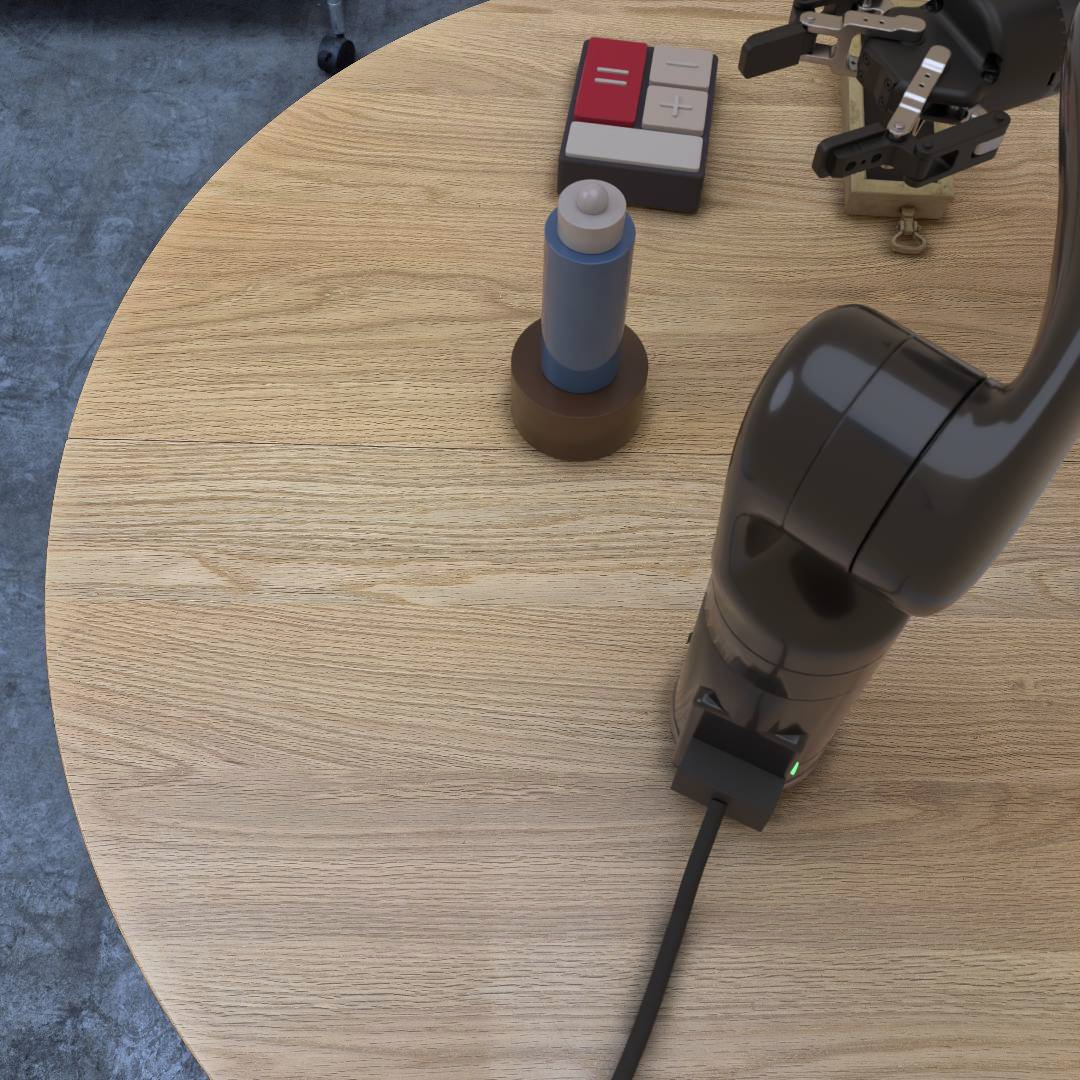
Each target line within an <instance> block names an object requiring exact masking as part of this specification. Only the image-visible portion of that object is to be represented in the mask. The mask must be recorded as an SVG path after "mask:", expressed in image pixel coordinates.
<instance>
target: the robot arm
mask: <svg viewBox="0 0 1080 1080" xmlns="http://www.w3.org/2000/svg"><path fill="white" fill-rule="evenodd" d="M927 1H928V2H927V3H925V4H924V5H922V6H918V7H904V6H897V7H895V5H894V4H893V3H892V2H891V0H793V1H792V5H791V9H790V14H789V19H788V23H787V24H782V25H780V26H777V27H776V26H775V27H772V28H769V29H766V30H762V31H759V32H756V33H752V34H751V35H750V36H748V37H747V38H746V41H745V42H743V43H742V45H741V49H740V52H739V53H740V54H739V59H738V63H737V70H738V72H740V74H741V75H742V76H743V77H744V79H747V80H749V79H753V78H756V77H760V76H763V75H767V74H770V73H773V72H777V71H780V70H783V69H787V68H789V67H794V66H796V65H799V64H800V62H805V63H812V64H817V65H822V66H823V65H824V66H828V67H829V69H830V71H831V73H832V74H834V75H837V76H841V75H843V76H848V77H854V78H856V79H857V80H858V81H859V82H860V84H861V85H862V86H863V87H864V88H865V89H867V90H868V91H869V92H871V93H872V94H873V95H874V98H875V100H876V103H877V105H878V106H879V107H880V108H881V110H882V111H883V112H884V113H885V112H888V111H889V112H891V113H893V114H894V115H893V116H892V118H891V120H890V121H889V123H888V126H887V127H886V128H883V127H882V125H881V124H880V123H879V122H877V123H873V124H870V125H867V126H864V127H861V128H857V129H854V130H851V131H848V132H845V133H842V132H841V133H838V134H836V135H832V136H828V137H825V138H823V139H822V140H821V141H820V142H819V143H818V144H817V146H816V148H815V152H814V155H813V159H812V163H811V169H812V171H813V173H815V175H816V176H817V177H818V178H819V179H825V178H829V177H831V179H842V178H843V177H846V176H849V175H851V174H852V175H853V174H856V173H857V172H858V173H859V172H862V171H865V170H868V169H871V168H874V167H877V166H880V167H882V168H885V169H893V168H896V169H897V170H899V171H900V172H902V173H903V174H904V177H903V181H904V183H905V184H906V185H908V186H910V187H913V188H919V187H922V186H925V185H927V184H930V183H932V182H935V181H938V180H940V179H943V178H945V177H948V176H950V175H953V176H954V175H955V174H958V173H961V172H963V171H965V170H968V169H971V168H973V167H975V166H978V165H981V164H983V163H985V162H988V161H991V160H993V159H994V158H995V157H996V155H997V153H998V151H999V148H1000V147H1001V146H1002V142H1003V140H1004V139H1005V137H1006V134H1007V131H1008V128H1009V126H1010V124H1011V121H1012V117H1011V116H1010V115H1009V113H1008V112H1006V111H1009V110H1013V109H1016V108H1018V107H1021V106H1024V105H1028V104H1031V103H1034V102H1038V101H1040V100H1043V99H1047V98H1050V97H1053V96H1056V95H1059V103H1058V142H1057V143H1058V145H1057V146H1058V148H1057V149H1058V152H1057V153H1058V161H1057V162H1058V173H1057V175H1058V176H1057V177H1058V194H1057V196H1058V197H1057V213H1056V214H1057V215H1056V226H1055V234H1054V243H1053V251H1052V259H1051V266H1050V274H1049V280H1048V284H1047V289H1046V290H1047V291H1046V297H1045V300H1044V301H1045V302H1044V305H1043V306H1044V307H1043V310H1042V314H1041V318H1040V322H1039V325H1038V328H1037V331H1036V335H1035V339H1034V342H1033V345H1032V348H1031V350H1030V352H1029V355H1028V357H1027V359H1026V360H1025V361H1026V362H1025V363H1024V364H1023V367H1022V368H1021V371H1020V372H1019V373H1018V374H1017V375H1016V377H1015V378H1014V379H1013V380H1011V382H1008V383H1007V382H1006V383H1003V382H1001V381H1000V380H998V379H996V378H994V377H992V376H990V377H988V374H987V373H986V372H984V371H982V370H980V369H979V368H978V367H976V366H974V365H972V364H970V363H968V362H967V361H966V360H963V359H962V358H960V357H959V356H957V355H955V354H954V353H951V352H950V351H948V350H946V349H945V348H943V347H942V346H940V345H938V344H937V343H935V342H933V341H931V340H930V339H929V338H927V337H924V336H923V335H921V334H918V333H917V332H915V331H914V330H913V329H911V328H909V327H908V326H906V325H904V324H902V323H900V322H898V321H896V320H895V319H893V318H892V317H890V316H888V315H886V314H884V313H882V312H881V311H879V310H878V309H875V308H873V307H871V306H869V305H864V304H859V303H846V304H840V305H837V306H834V307H832V308H829V309H826V310H824V311H823V312H821V313H819V314H818V315H816V316H814V317H813V318H812V319H810V320H809V321H808V322H807V323H805V324H804V325H803V326H802V327H801V328H799V329H798V330H797V331H796V332H795V333H794V334H793V335H792V336H791V338H789V340H788V341H787V342H786V343H785V344H784V345H783V346H782V348H781V349H779V352H778V353H777V354H776V356H775V357H774V358H773V360H772V361H771V363H770V364H769V366H768V368H767V369H766V370H765V372H764V374H763V376H762V378H761V379H760V381H759V382H758V384H757V386H756V388H755V390H754V392H753V394H752V396H751V398H750V401H749V403H748V404H747V408H746V410H745V412H744V416H743V418H742V421H741V423H740V425H739V429H738V432H737V433H736V436H735V440H734V442H733V446H732V450H731V453H730V454H731V455H730V458H729V462H728V467H727V472H726V475H725V476H726V477H725V481H724V488H723V491H722V492H723V493H722V498H721V499H722V500H721V505H720V510H719V516H718V521H717V526H716V531H715V535H714V539H713V543H712V549H711V554H710V565H711V573H710V576H709V579H708V583H707V586H706V589H705V591H704V595H703V598H702V601H701V603H700V604H701V605H700V608H699V611H698V613H697V614H698V615H697V618H696V622H695V624H694V627H693V630H692V631H691V632H690V633H689V634H688V637H687V639H686V642H685V645H688V646H687V650H686V654H685V657H684V659H683V663H682V666H681V670H680V673H679V676H678V678H677V680H676V682H675V685H674V687H673V691H672V694H671V697H670V703H669V724H670V730H671V734H672V737H673V741H674V743H675V747H674V751H673V754H672V756H671V763H672V764H673V765H674V766H676V767H677V769H676V771H675V774H674V777H673V778H672V779H673V780H672V782H671V785H670V788H669V790H670V791H673V792H675V793H677V794H679V795H682V796H684V797H686V798H688V799H689V800H691V801H694V802H696V803H699V804H700V805H702V806H704V807H706V810H705V814H704V817H703V819H702V822H701V825H700V827H699V830H698V833H697V835H696V838H695V841H694V843H693V846H692V849H691V852H690V854H689V857H688V860H687V863H686V866H685V869H684V873H683V875H682V878H681V880H680V881H681V882H680V884H679V887H678V891H677V894H676V898H675V901H674V905H673V908H672V911H671V913H670V917H669V920H668V924H667V926H666V930H665V932H664V936H663V939H662V941H661V945H660V947H659V951H658V954H657V957H656V960H655V963H654V966H653V968H652V972H651V975H650V978H649V981H648V983H647V987H646V989H645V992H644V995H643V999H642V1001H641V1004H640V1007H639V1010H638V1012H637V1015H636V1018H635V1020H634V1023H633V1026H632V1028H631V1031H630V1034H629V1036H628V1038H627V1041H626V1043H625V1046H624V1048H623V1051H622V1053H621V1056H620V1058H619V1061H618V1063H617V1065H616V1068H615V1070H614V1073H613V1075H612V1077H611V1079H610V1080H633V1079H634V1077H635V1074H636V1072H637V1069H638V1067H639V1065H640V1062H641V1059H642V1057H643V1054H644V1051H645V1049H646V1047H647V1045H648V1041H649V1039H650V1036H651V1033H652V1030H653V1028H654V1025H655V1022H656V1020H657V1017H658V1014H659V1012H660V1008H661V1005H662V1002H663V1000H664V997H665V993H666V990H667V988H668V984H669V981H670V978H671V975H672V972H673V970H674V969H673V968H674V966H675V962H676V960H677V956H678V953H679V950H680V947H681V944H682V942H683V941H682V940H683V939H684V935H685V931H686V928H687V925H688V922H689V919H690V916H691V913H692V910H693V906H694V903H695V901H696V900H695V899H696V897H697V894H698V893H697V892H698V890H699V887H700V883H701V881H702V877H703V875H704V871H705V869H706V866H707V863H708V860H709V859H710V858H709V857H710V855H711V852H712V849H713V847H714V843H715V840H716V838H717V835H718V833H719V830H720V826H721V824H722V822H723V819H724V816H726V817H727V818H730V819H732V820H734V821H736V822H738V823H741V825H744V826H746V827H748V828H750V829H752V830H754V831H756V832H759V833H762V832H763V830H764V829H765V827H766V825H767V824H768V822H769V820H770V819H771V817H772V816H773V813H774V812H775V809H776V806H777V804H778V801H779V798H780V797H781V795H782V792H784V791H786V790H788V789H790V788H792V787H794V786H796V785H797V784H799V783H800V782H802V781H803V780H804V779H805V778H807V777H808V776H809V774H810V773H812V771H813V770H815V768H816V766H817V765H818V764H819V763H820V760H821V759H822V757H823V755H824V753H825V751H826V749H827V747H828V745H829V743H830V742H831V740H832V739H833V737H834V735H835V734H836V732H837V731H838V728H839V727H840V726H841V724H842V723H843V721H844V720H845V719H846V717H847V715H848V714H849V712H850V711H851V709H852V708H853V707H854V704H855V703H856V702H857V700H858V699H859V697H860V695H861V694H862V692H863V691H864V689H865V688H866V686H867V685H868V683H869V682H870V680H871V679H872V678H873V676H874V674H875V672H876V671H877V669H878V668H879V667H880V666H881V664H882V662H883V661H884V660H885V658H886V656H887V655H888V653H889V652H890V650H891V649H892V647H893V646H894V644H895V643H896V641H897V640H898V638H899V637H900V635H901V634H902V632H903V630H904V629H905V628H906V626H907V624H908V623H909V621H910V619H911V617H915V618H927V617H932V616H935V615H938V614H940V613H941V612H944V611H945V610H947V609H949V608H950V607H951V606H953V605H954V604H956V603H957V602H958V601H960V599H962V597H964V596H965V595H966V594H967V593H968V592H969V591H970V590H971V589H972V588H973V587H974V586H975V585H976V584H977V583H978V581H979V580H980V579H981V578H982V577H983V576H984V574H985V573H986V572H988V570H989V569H990V568H991V567H992V565H993V564H994V563H995V561H996V560H997V559H998V557H999V556H1000V555H1001V553H1002V552H1003V551H1004V549H1005V548H1006V547H1007V546H1008V544H1009V543H1010V541H1011V540H1012V539H1013V537H1014V536H1015V534H1016V533H1017V531H1018V530H1019V528H1020V527H1021V526H1022V525H1023V523H1024V521H1025V520H1026V518H1027V517H1028V515H1029V514H1030V512H1031V511H1032V510H1033V508H1034V506H1035V505H1036V503H1037V502H1038V501H1039V499H1040V497H1041V496H1042V494H1043V493H1044V491H1045V490H1046V488H1047V487H1048V485H1049V484H1050V482H1051V480H1053V477H1054V476H1055V474H1056V473H1057V471H1058V470H1059V468H1060V467H1061V465H1062V463H1063V462H1064V460H1065V459H1066V457H1067V456H1068V454H1069V452H1071V449H1072V448H1073V446H1074V445H1075V443H1076V442H1077V440H1078V439H1079V437H1080V0H927ZM822 7H823V9H822V11H821V12H816V9H817V8H822ZM858 34H864V35H869V36H868V37H867V39H866V40H865V41H864V43H863V45H862V48H861V51H860V55H859V57H856V56H852V55H851V54H850V53H849V52H848V51H849V48H850V44H851V41H852V38H853V37H854V36H856V35H858ZM818 35H822V36H827V37H828V36H830V37H834V38H836V39H837V40H836V42H835V43H834V44H826V43H820V42H817V38H818ZM925 120H926V121H932V122H938V123H945V124H950V127H949V128H947V129H944V130H941V131H939V132H936V133H934V134H931V135H928V136H926V137H923V138H920V139H918V138H916V137H915V136H916V135H917V133H918V131H919V130H920V128H921V126H922V124H923V123H924V122H925Z"/></svg>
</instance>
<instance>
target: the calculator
mask: <svg viewBox="0 0 1080 1080" xmlns="http://www.w3.org/2000/svg"><path fill="white" fill-rule="evenodd" d="M718 67H719V56H718V55H717V54H716V53H715V54H714V52H713V51H712V50H705V49H697V48H689V47H682V46H675V45H664V44H656V45H655V46H651V45H650V46H649V45H648V43H645V42H639V41H633V40H622V39H614V38H608V37H607V38H605V37H598V36H591V37H590V38H589V39H585V40H584V41H583V44H582V48H581V52H580V56H579V61H578V66H577V71H576V75H575V80H574V84H573V89H572V94H571V98H570V102H569V107H568V111H567V116H566V121H565V126H564V130H563V135H562V139H561V144H560V148H559V154H558V159H557V160H558V162H557V180H556V193H557V195H558V196H560V194H561V193H562V191H563V190H564V189H565V188H566V187H568V186H569V185H571V184H573V183H575V182H578V181H581V180H600V181H604V182H607V183H609V184H611V185H613V186H615V187H616V188H617V189H618V190H620V192H621V193H622V194H623V196H624V198H625V200H626V206H633V207H634V206H635V207H642V208H649V209H659V210H664V211H665V210H666V211H673V212H682V213H689V214H694V213H697V212H698V211H699V208H700V204H701V198H702V193H703V187H704V182H705V181H704V180H705V176H706V168H707V161H708V160H707V159H708V158H707V157H708V152H709V143H710V135H711V124H712V118H713V109H714V102H715V101H714V100H715V92H716V85H717V83H716V82H717V76H718V75H717V74H718Z"/></svg>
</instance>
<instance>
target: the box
mask: <svg viewBox="0 0 1080 1080" xmlns="http://www.w3.org/2000/svg"><path fill="white" fill-rule="evenodd" d="M928 1H929V0H891V2H892V3H893V4H894V5H895V7H897V6H904V7H918V6H922V5H924V4H925V3H927V2H928ZM868 36H869V35H864V34H858V35H856V36H854V37H853V38H852V41H851V44H850V48H849V51H848V52H849V53H850V54H851V55H852V56H856V57H859V55H860V51H861V48H862V45H863V43H864V41H865V40H866V39H867V37H868ZM840 91H841V92H840V99H841V133H845V132H848V131H851V130H854V129H857V128H861V127H864V126H867V125H870V124H873V123H877V122H879V123H880V124H881V125H882V127H883V128H886V127H887V126H888V123H889V121H890V120H891V118H892V116H893V115H894V114H893V113H891V112H889V111H888V112H885V113H884V112H883V111H882V110H881V108H880V107H879V106H878V105H877V103H876V100H875V98H874V95H873V94H872V93H871V92H869V91H868V90H867V89H865V88H864V87H863V86H862V85H861V84H860V82H859V81H858V80H857V79H856V78H854V77H848V76H843V75H840ZM949 127H951V124H945V123H938V122H932V121H926V120H925V122H924V123H923V124H922V126H921V128H920V130H919V131H918V133H917V135H916V136H915V137H916V138H918V139H920V138H923V137H926V136H928V135H931V134H934V133H936V132H939V131H941V130H944V129H947V128H949ZM903 177H904V174H903V173H902V172H900V171H899V170H897V169H896V168H893V169H885V168H882V167H880V166H877V167H874V168H871V169H868V170H865V171H862V172H859V173H858V172H857V173H856V174H853V175H852V174H851V175H849V176H846V177H843V209H844V210H843V211H844V215H857V216H869V217H870V216H872V217H890V218H891V217H892V218H900V220H899V221H898V222H897V224H896V226H895V229H896V233H895V234H894V235H893V236H892V238H891V240H890V241H889V246H890V248H891V250H892V251H893V252H898V253H901V254H910V255H917V254H920V253H923V252H924V250H925V248H926V246H927V243H928V242H927V240H926V239H925V238H924V236H923V235H921V234H920V233H919V232H920V231H921V229H922V226H921V225H920V223H918V221H917V220H914V219H932V220H933V219H934V220H938V219H939V220H940V219H941V218H942V216H943V215H944V213H945V211H946V209H947V207H948V205H949V203H953V202H954V199H955V198H956V190H955V179H954V174H953V175H950V176H948V177H945V178H943V179H940V180H938V181H935V182H932V183H930V184H927V185H925V186H922V187H919V188H913V187H910V186H908V185H906V184H905V183H904V181H903ZM902 236H911V237H912V238H913V239H914V240H915V241H916V242H918V243H919V245H918V246H910V245H909V246H908V245H903V244H899V243H898V242H897V240H898V239H900V238H901V237H902Z"/></svg>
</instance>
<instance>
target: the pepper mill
mask: <svg viewBox="0 0 1080 1080" xmlns="http://www.w3.org/2000/svg"><path fill="white" fill-rule="evenodd" d="M558 196H559V197H558V199H557V206H556V207H555V208H554V209H553V210H551V212H550V213H549V215H548V216H547V218H546V220H545V223H544V228H543V256H542V257H543V258H542V261H543V262H542V287H541V289H542V290H541V317H540V318H541V348H540V365H541V369H542V371H543V373H544V375H545V377H546V378H547V379H548V380H549V381H550V382H551V383H552V384H553V385H555V386H556V387H558V388H560V389H562V390H564V391H567V392H571V393H581V394H583V393H591V392H595V391H598V390H600V389H602V388H604V387H606V386H607V385H608V384H610V383H611V382H612V381H613V379H614V378H615V377H616V375H617V373H618V370H619V365H620V357H621V349H622V341H623V333H624V325H625V324H626V317H627V310H628V309H627V308H628V300H629V294H630V285H631V276H632V269H633V260H634V252H635V244H636V236H637V232H636V231H637V229H636V225H635V222H634V219H633V218H632V217H631V215H630V214H629V213H628V211H627V205H626V200H625V198H624V196H623V194H622V193H621V192H620V190H618V189H617V188H616V187H615V186H613V185H611V184H609V183H607V182H604V181H600V180H581V181H578V182H575V183H573V184H571V185H569V186H568V187H566V188H565V189H564V190H563V191H562V193H561V194H560V195H558Z"/></svg>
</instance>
